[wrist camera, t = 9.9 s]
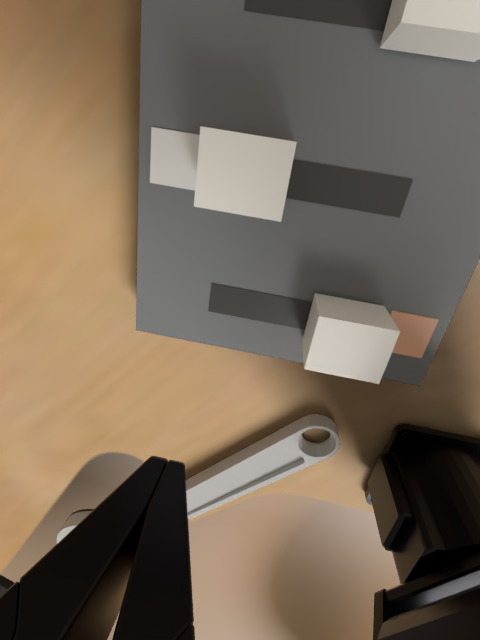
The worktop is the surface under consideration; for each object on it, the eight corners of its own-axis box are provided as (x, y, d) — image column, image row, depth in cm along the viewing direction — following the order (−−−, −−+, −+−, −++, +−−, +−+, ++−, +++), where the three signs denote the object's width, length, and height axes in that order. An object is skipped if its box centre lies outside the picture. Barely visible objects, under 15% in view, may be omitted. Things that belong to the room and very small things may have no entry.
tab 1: (295, 144, 13) (296, 142, 10) (282, 211, 14) (281, 221, 12) (215, 131, 13) (200, 126, 11) (208, 198, 14) (193, 206, 12)
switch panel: (584, -47, 11) (642, -87, 9) (407, 363, 18) (420, 387, 16) (165, -101, 12) (142, -148, 10) (150, 313, 19) (135, 330, 17)
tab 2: (384, 305, 15) (400, 331, 13) (367, 353, 16) (378, 384, 14) (314, 292, 15) (319, 316, 13) (302, 340, 16) (304, 369, 14)
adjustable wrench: (321, 399, 21) (324, 419, 19) (370, 468, 22) (377, 492, 21) (56, 518, 29) (42, 539, 27) (108, 561, 31) (98, 584, 29)
